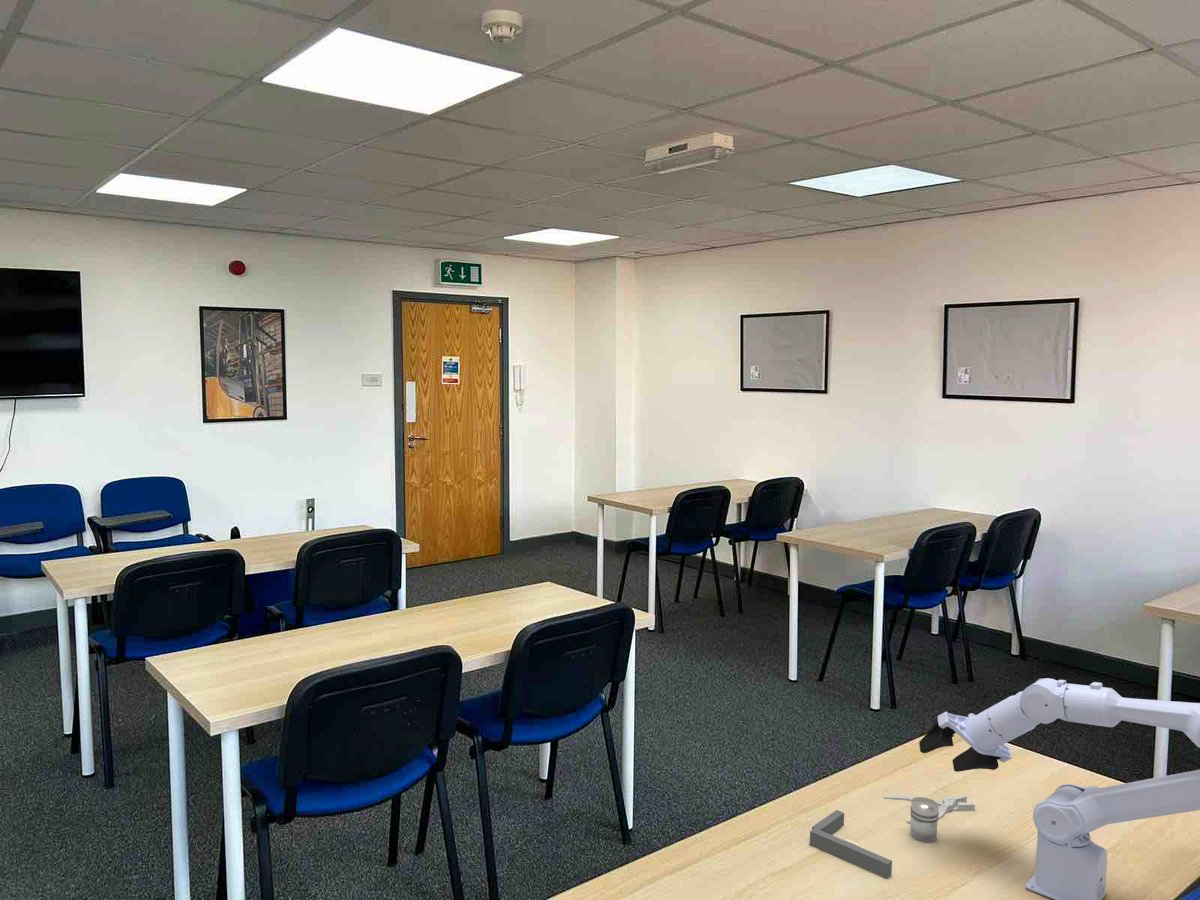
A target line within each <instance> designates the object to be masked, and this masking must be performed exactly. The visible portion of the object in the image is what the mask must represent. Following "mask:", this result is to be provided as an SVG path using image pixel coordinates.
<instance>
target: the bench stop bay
mask: <svg viewBox="0 0 1200 900" xmlns="http://www.w3.org/2000/svg"><path fill="white" fill-rule="evenodd" d="M844 825H845V812H843V811H841V810H838V809H836V810H834V811H833V812H832V813H830V814H829V815H827V816H825V817H824V818H823V819H821V820H819V822H817V823H816V824H814V825H813V826H812V827H811V830H810V831H809V845H810V846H812V847H814V848H816V849H819V850H821V851H824V852H826V853H828V854H830V855H833V856H834V857H837V858H839V859H842V860H844V861H846V862H849V863H850V864H853V865H856V866H858V867H860V868H862V869H864V870H867V871H869V872H871V873H873V874H876V875H879V876H880V877H883V878H885V879H889V878H890V877H891V876H892V872H893V871H892V869H893V860H892V859H890V858H887V857H885V856H882V855H880V854H878V853H875V852H872V851H870V850H867V849H866V848H863V847H860V846H861V844H860V843H857V842H855V841H852V840H850V839H845V840H844V839H842V838H839V837H837V836H835V835H833V834H834V833H836V832H837V831H839V830H840V829H841V828H843V827H844ZM842 826H843V827H842Z"/></svg>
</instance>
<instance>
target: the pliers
mask: <svg viewBox="0 0 1200 900" xmlns="http://www.w3.org/2000/svg"><path fill="white" fill-rule="evenodd" d="M916 797H917V796H916V795H915V796H914V795H906V794H905V795H902V794H896V795H893V794H892V795H886V796H883V797H882V798H884V799H893V800H892V801H895V800H898V801H908V802H911V803H912V799H913V798H916ZM884 799H883V800H884ZM934 801H935V802H937V803H938V811H939V816H938V817H939V818H938V821H939V820H941V819H942V818H944V816H945V815H946V814H948V813H950V812H972V811H973V812H975V807H976V804H975V803H974V802H968V797H967V796H966V795H965V794H963V795H953V796H947V797H942V801H938V800H934ZM906 823H907V824H911V819H907V820H906Z"/></svg>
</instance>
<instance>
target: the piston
mask: <svg viewBox="0 0 1200 900" xmlns="http://www.w3.org/2000/svg"><path fill="white" fill-rule="evenodd" d="M935 801H936V800H934V799H931V798H929V797H922V796H916V798H913V799H912V802H911V803H910V804H911V805H910V820H911V824H910V825H909V826H910V828H909V829H910V830H909V835H910V837H911V838H912V839H913V840H915V841H918V842H921V843H925V844H930V843H931V844H932V843H935V842H936V841H937V840H938V826H939V825H938V822H939V820H938V818H939V817H938V816H939V811H938V808H939V806H938V803H937V802H935Z"/></svg>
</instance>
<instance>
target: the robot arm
mask: <svg viewBox="0 0 1200 900" xmlns="http://www.w3.org/2000/svg"><path fill="white" fill-rule="evenodd" d="M1057 719H1060V720H1061V721H1065V722H1070V723H1077V724H1084V725H1092V726H1097V727H1098V726H1099V727H1106V728H1113V727H1115V726H1117V725H1118V724H1119V723H1121V721H1124V722H1129V723H1135V724H1140V725H1146V726H1152V727H1158V728H1164V729H1169V730H1175V731H1180V732H1183V733H1184V735H1185V736H1187V737H1188V738H1189V740H1191V742H1192V743H1194V745H1196V747H1198V748H1199V749H1200V702H1189V701H1188V702H1187V701H1174V700H1173V701H1171V700H1161V699H1160V700H1159V699H1147V698H1145V699H1143V698H1135V697H1134V698H1131V697H1123V696H1121V695H1120V694H1119V693H1118V692H1117V691H1116V690H1114V689H1113V688H1112V687H1105V686H1104V687H1103V683H1102V682H1097V681H1093V682H1092V683H1090V684H1089V685H1087V684H1085V685H1084V684H1076V683H1067V680H1066V679H1058V680H1056V679H1054V678H1049V677H1047V678H1038V679H1037V680H1036V681H1035V682H1034V683H1032V684H1030V685H1029V686H1027V687H1025V688H1024V689H1023V690H1022V691H1019V692H1017V693H1016V694H1015V695H1010V696H1008V697H1006V698H1005V699H1003V700H1001V701H999V702H997V703H996V704H993V705H991V706H990V707H988V708H987V709H985V710H983V711H981V712H979V713H978V714H975V713H972V712H971V713H969V714H968V715H967V716H963V715H958V714H957V715H956V714H953V713H949V712H948V711H944V712H942V711H941V712H939V713H937V715H936V717H935V719H934V722H933V724H932V726H931V728H930V729H929V730H928V732H927V733H926V734H925V735H924V736H923V737H922V738H921V740H919V742H918V745H919V751H920V753H922V754H928V753H930V752H933V751H935V750H938V749H939V748H940V749H942V748H944V747H945V748H946V747H954V742H953V738H954V737H955V734H957V735H958V736H959V737H960V738H961V739H962V740H964V741H965V742H966V744H968V745H969V746H970V747H968V748H967V749H966V750H964V751H963V752H962V753H960V754H958V755H957V756H955V757H954V758H953V759H952V760H951V762H952V767H953V771H954V772H956V773H957V772H965V771H970V770H991V771H995V770H997V769H999V761H1000V762H1001V763H1003V764H1004V763H1005V762H1007V761H1009V760H1011V759H1013V756H1012V751H1011V748H1010V747H1008V746H1007V745H1006V744H1007V743H1009V742H1011V741H1013V740H1015V739H1017V738H1018V737H1020V736H1023V735H1024V734H1026V733H1027V732H1029V731H1032V730H1034V729H1035V728H1036V726H1038V725H1040V724H1043V725H1046V724H1047V725H1049V724H1050V723H1053V722H1055V721H1056V720H1057ZM1195 811H1200V769H1197V770H1191V771H1185V772H1179V773H1174V774H1170V775H1164V776H1159V777H1152V778H1147V779H1141V780H1136V781H1132V782H1131V781H1130V782H1125V783H1121V784H1115V785H1110V786H1109V785H1107V786H1104V787H1098V786H1095V785H1090V786H1081V785H1078V784H1073V783H1065V784H1062V785H1060V786H1058V787H1057V788H1056V789H1055V790H1054V791H1053V793H1051V794H1050V795H1049V796H1048V797H1046V798H1045V799H1044V800H1043V801H1040V802H1039V803H1037V804H1036V806H1035V807H1034V808H1033V811H1032V819H1033V822H1034V826H1035V827H1036V829H1037V836H1036V854H1035V870H1034V873H1033V875H1032V876H1031V877H1030V879H1029V880H1028V881H1027V882H1026V883H1025V888H1026V889H1027V890H1029V891H1032V892H1034V893H1037V894H1039V895H1041V896H1044V897H1046V898H1049V899H1052V900H1103V899H1104V897H1105V895H1106V893H1107V890H1106V881H1107V880H1106V879H1107V867H1108V866H1107V865H1108V864H1107V863H1108V852H1107V849H1106V848H1105V847H1102V845H1101V846H1100V845H1098V844H1097V843H1095V842H1094V841H1092V839H1091V834H1090V832H1093V831H1095V830H1098V829H1100V828H1102V827H1105V826H1108V825H1111V824H1118V823H1124V822H1132V821H1138V820H1143V819H1145V820H1146V819H1150V818H1158V817H1164V816H1169V815H1176V814H1182V813H1190V812H1195Z"/></svg>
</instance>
